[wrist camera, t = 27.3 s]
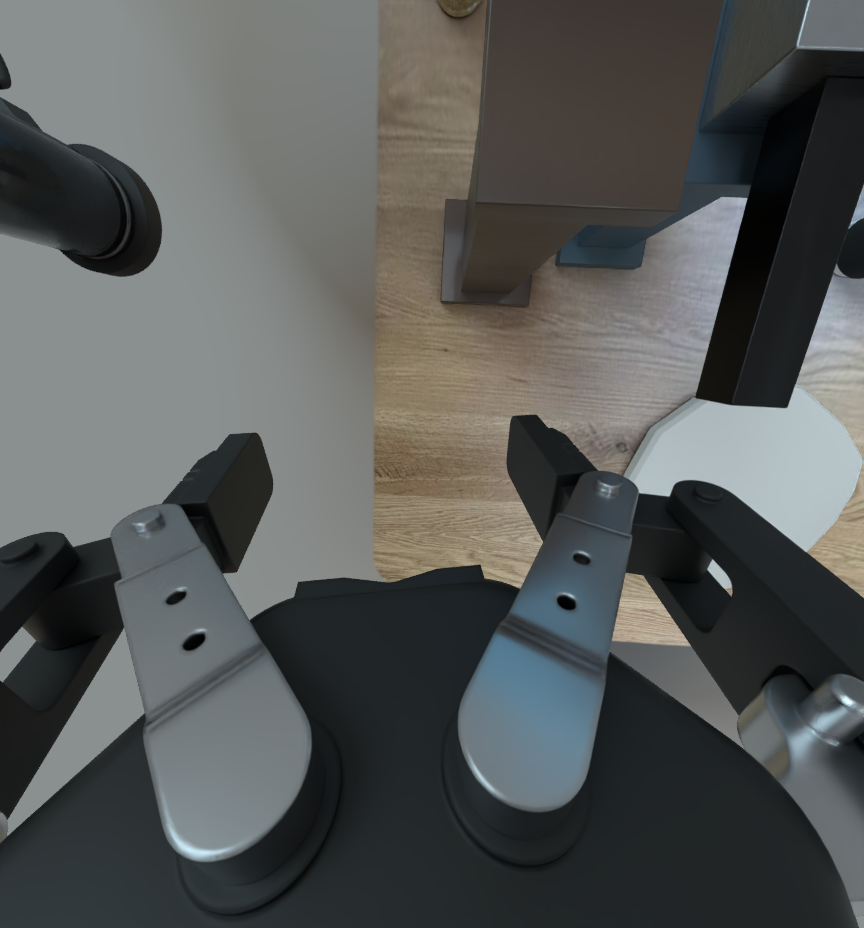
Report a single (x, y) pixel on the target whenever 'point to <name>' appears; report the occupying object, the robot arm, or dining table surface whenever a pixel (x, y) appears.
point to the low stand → (707, 179)
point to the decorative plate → (756, 462)
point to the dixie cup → (852, 253)
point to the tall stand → (574, 132)
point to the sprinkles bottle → (459, 6)
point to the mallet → (784, 184)
